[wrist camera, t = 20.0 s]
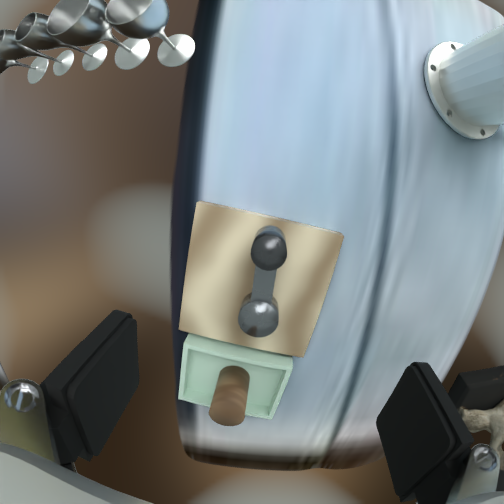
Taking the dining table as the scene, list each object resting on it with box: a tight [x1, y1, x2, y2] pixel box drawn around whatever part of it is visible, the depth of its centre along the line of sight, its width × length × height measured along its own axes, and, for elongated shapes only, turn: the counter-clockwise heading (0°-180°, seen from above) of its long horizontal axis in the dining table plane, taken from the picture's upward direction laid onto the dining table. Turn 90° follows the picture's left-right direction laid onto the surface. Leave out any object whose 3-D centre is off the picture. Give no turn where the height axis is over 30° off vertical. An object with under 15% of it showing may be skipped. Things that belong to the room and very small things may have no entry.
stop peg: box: [209, 365, 250, 426], centre depth 32 cm, size 4×4×7 cm
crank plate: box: [179, 201, 344, 357], centre depth 31 cm, size 15×15×2 cm
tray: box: [178, 333, 293, 420], centre depth 35 cm, size 13×10×2 cm
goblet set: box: [0, 0, 195, 84], centre depth 19 cm, size 28×6×13 cm, turn 80°
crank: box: [238, 225, 287, 337], centre depth 27 cm, size 11×4×6 cm, turn 173°
